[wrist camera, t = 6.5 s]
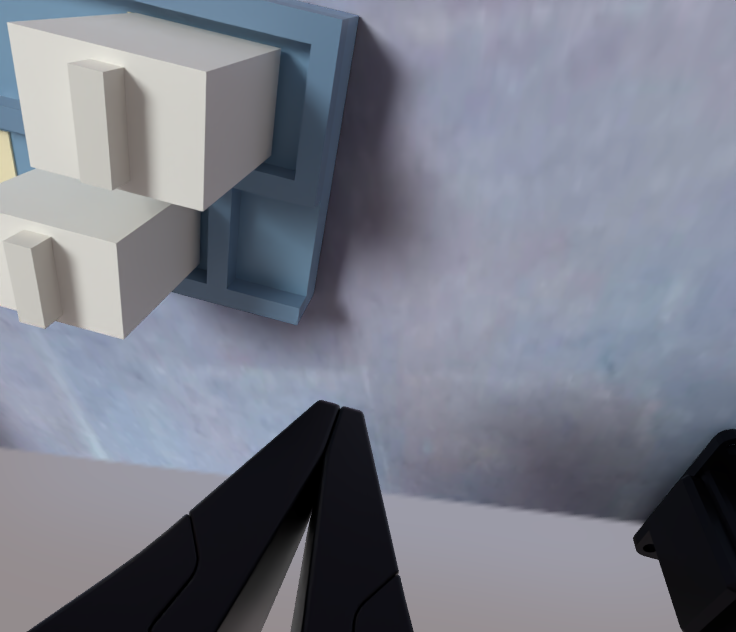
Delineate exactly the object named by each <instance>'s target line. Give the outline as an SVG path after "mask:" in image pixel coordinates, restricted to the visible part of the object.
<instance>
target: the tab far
mask: <svg viewBox="0 0 736 632" xmlns="http://www.w3.org/2000/svg"><path fill="white" fill-rule="evenodd" d="M200 219H201V211H199V210H195V209H191V208H187V207H183V206H180V205H176V204H172V203H168V202H164V201H160V200H157V199H153V198H149V197H145V196H141V195H137V194H133V193H130V192H126V191H122V190H118V189H114V190H112V191H111V190H107V189H104V188H100V187H96V186H92V185H88V184H84V183H81V182H80V179H76V178H72V177H68V176H64V175H60V174H56V173H53V172H49V171H45V170H41V169H37V168H36V169H33V170H31V171H28V172H26V173H23V174H21V175H19V176H16V177H14V178H11V179H9V180H6V181H4V182H2V183H0V306H2V307H6V308H9V309H13V310H17V312H18V317H19V322H22V323H25V324H29V325H33V326H37V327H40V328H44V329H46V328H47V327H48V326H49V325H51V324H52V323H53V322H55V321H57V322H61V323H65V324H68V325H72V326H76V327H80V328H83V329H87V330H91V331H94V332H98V333H102V334H105V335H109V336H113V337H116V338H120V339H125V338H126V337H127V336H128V335H129V334H130V333H131V332H132V331H133V330H134V329H135V328H136V327H137V326H138V325H139V324H140V323H141V322H142V321H143V320H144V319H145V318H146V317H147V316H148V315H149V314H150V313H151V312H152V311H153V310H154V309H155V308H156V307H157V306H158V305H159V304H160V303H161V302H162V301H163V300H164V299H165V298H166V297H167V296H168V295H169V294H170V293H171V292H172V291H173V290H174V289H175V288H176V287H177V286H178V285H179V284H180V283H181V282H182V281H183V280H184V279H185V278H186V277H187V276H188V275H189V274H190V273H191V272H192V271H193V270H194V269H195V268H196V267H197V266H198V265H199V264H200Z"/></svg>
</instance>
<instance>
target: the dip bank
mask: <svg viewBox="0 0 736 632" xmlns="http://www.w3.org/2000/svg"><path fill="white" fill-rule="evenodd" d="M124 13H139V14H144V15H148V16H152V17H156V18H160V19H164V20H168V21H172V22H176V23H180V24H184V25H188V26H192V27H196V28H200V29H204V30H209V31H213V32H217V33H221V34H225V35H229V36H233V37H237V38H241V39H245V40H249V41H253V42H257V43H261V44H265V45H269V46H274V47H278V48H281V55H280V66H279V77H278V87H277V98H276V108H275V119H274V130H273V140H272V151H271V156H270V157H269V158H268V159H266V160H265V161H264V162H263V163H261V164H260V165H259V166H258V167H257V168H255V169H254V170H253V171H252V172H251V173H249V174H248V175H247V176H246V177H245V178H243V179H242V180H241V181H240V182H238V183H237V184H236V185H235V186H234V187H232V188H231V189H230V190H229V191H228V192H226V193H225V194H224V195H223V196H221V197H220V198H219V199H218V200H217V201H215V202H214V203H213V204H212V205H211V206H209V207H208V208H207V209H206V210H204V211H201V219H200V264H199V265H198V266H197V267H196V268H195V269H194V270H193V271H192V272H191V273H190V274H189V275H188V276H187V277H186V278H185V279H184V280H183V281H182V282H181V283H180V284H179V285H178V286H177V287H176V288H175V289H174V290H173V291H172V292H174V293H178V294H181V295H185V296H189V297H193V298H196V299H200V300H204V301H208V302H211V303H215V304H219V305H223V306H226V307H230V308H234V309H238V310H241V311H245V312H249V313H253V314H256V315H260V316H264V317H268V318H272V319H275V320H279V321H283V322H287V323H290V324H294V325H297V324H298V323H299V321H300V319H301V317H302V315H303V313H304V311H305V309H306V307H307V305H308V304H309V302H310V300H311V298H312V296H313V294H314V289H315V283H316V276H317V270H318V264H319V258H320V252H321V246H322V240H323V234H324V228H325V221H326V215H327V209H328V203H329V197H330V191H331V185H332V179H333V173H334V166H335V160H336V154H337V148H338V142H339V136H340V130H341V124H342V118H343V111H344V105H345V99H346V93H347V87H348V81H349V75H350V69H351V63H352V56H353V50H354V44H355V38H356V32H357V26H358V20H359V16H358V15H354V14H350V13H346V12H342V11H338V10H334V9H329V8H325V7H321V6H317V5H313V4H309V3H305V2H301V1H296V0H0V183H2V182H4V181H6V180H9V179H11V178H14V177H16V176H19V175H21V174H23V173H26V172H28V171H31V170H33V169H36V168H33V167H31V166H30V160H29V154H28V148H27V142H26V136H25V130H24V124H23V118H22V111H21V105H20V99H19V93H18V87H17V81H16V75H15V69H14V63H13V57H12V51H11V45H10V38H9V32H8V26H7V22H15V21H28V20H42V19H56V18H69V17H83V16H96V15H110V14H124Z"/></svg>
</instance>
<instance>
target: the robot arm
mask: <svg viewBox="0 0 736 632" xmlns="http://www.w3.org/2000/svg"><path fill="white" fill-rule="evenodd" d="M732 444H735V445H733V446H730V445H732ZM311 512H312V513H311ZM310 515H311V517H310ZM309 518H310V522H309ZM308 522H309V527H308V532H307V537H306V543H305V549H304V555H303V561H302V567H301V573H300V579H299V585H298V591H297V597H296V603H295V609H294V615H293V620H292V626H291V632H414V631H413V628H412V624H411V620H410V616H409V612H408V608H407V604H406V600H405V596H404V592H403V587H402V583H401V578H400V576H399V575H398V572H399V570H398V566H397V561H396V557H395V553H394V548H393V543H392V539H391V535H390V530H389V526H388V521H387V517H386V512H385V508H384V503H383V499H382V494H381V490H380V485H379V481H378V476H377V472H376V467H375V463H374V459H373V454H372V450H371V445H370V441H369V436H368V432H367V427H366V423H365V418H364V415H363V412H362V411H360V410H356V409H353V408H349V407H345V406H343V407H341V409H340V406H339V405H338V404H334V403H331V402H327V401H323V400H319V401H317V402H316V403H315V404H313V405H312V406H311V407H310V408H309V409H308V410H306V411H305V412H304V413H303V414H302V415H301V416H300V417H298V418H297V419H296V420H295V421H294V422H293V423H291V424H290V425H289V426H288V427H287V428H286V429H284V430H283V431H282V432H281V433H280V434H279V435H277V436H276V437H275V438H274V439H273V440H272V441H271V442H269V443H268V444H267V445H266V446H265V447H264V448H262V449H261V450H260V451H259V452H258V453H257V454H255V455H254V456H253V457H252V458H251V459H250V460H248V461H247V462H246V463H245V464H244V465H243V466H241V467H240V468H239V469H238V470H237V471H236V472H235V473H233V474H232V475H231V476H230V477H229V478H228V479H226V480H225V481H224V482H223V483H222V484H221V485H219V486H218V487H217V488H216V489H215V490H214V491H213V492H211V493H210V494H209V495H208V496H207V497H206V498H205V499H204V500H202V501H201V502H200V503H199V504H197V505H196V506H195V507H194V508H193V509H192V510H191V511H190V512H189V515H187V514H186V515H184V516H183V517H182V518H181V519H180V520H179V521H178V522H176V523H175V524H174V525H173V526H172V527H170V528H169V529H168V530H167V531H166V532H164V533H163V534H162V535H161V536H160V537H158V538H157V539H156V540H155V541H153V542H152V543H151V544H150V545H148V546H147V547H146V548H145V549H144V550H142V551H141V552H140V553H138V554H137V555H136V556H135V557H133V558H131V559H130V560H129V561H127V562H126V563H125V564H123V565H122V566H120V567H119V568H118V569H116V570H115V571H114V572H112V573H111V574H110V575H108V576H107V577H105V578H104V579H102V580H101V581H99V582H98V583H97V584H95V585H94V586H92V587H91V588H90V589H88V590H87V591H85V592H84V593H82V594H81V595H79V596H78V597H76V598H75V599H74V600H72V601H71V602H69V603H68V604H66V605H65V606H64V607H62V608H60V609H59V610H58V611H56V612H55V613H54V614H52V615H50V616H49V617H48V618H46V619H45V620H43V621H42V622H40V623H39V624H37V625H36V626H34V627H33V628H32V629H30V630H29V631H27V632H261V630H262V628H263V626H264V623H265V621H266V619H267V617H268V614H269V612H270V610H271V607H272V605H273V603H274V601H275V598H276V596H277V594H278V591H279V589H280V587H281V585H282V582H283V580H284V578H285V575H286V573H287V571H288V568H289V566H290V564H291V562H292V559H293V557H294V555H295V552H296V550H297V548H298V545H299V543H300V541H301V539H302V536H303V534H304V532H305V529H306V527H307V524H308ZM633 540H634V544H635V548H636V551H637V552H638V553H639V554H641V555H643V556H646V557H650V558H654V559H658V560H659V562H660V566H661V568H662V572H663V575H664V578H665V581H666V584H667V587H668V591H669V594H670V597H671V600H672V603H673V606H674V609H675V612H676V616H677V618H678V622H679V625H680V628H681V629H682V631H683V632H736V430H735V429H730V430H724V431H722V432H720V433H718V434H717V435H716V436H715V437H714V438H713V439H712V440H711V441H710V443H709V444H708V445H707V446H706V448H705V449H704V450H703V451H702V453H701V454H700V455H699V456H698V458H697V459H696V460H695V461H694V462H693V464H692V465H691V466H690V467H689V469H688V470H687V471H686V472H685V474H684V475H683V476H682V477H681V479H680V480H679V481H678V482H677V483H676V485H675V486H674V487H673V488H672V490H671V491H670V492H669V493H668V495H667V496H666V497H665V498H664V499H663V501H662V502H661V503H660V504H659V506H658V507H657V508H656V509H655V511H654V512H653V513H652V514H651V516H650V517H649V518H648V519H647V520H646V522H645V523H644V524H643V525H642V527H641V528H640V529H639V530H638V532H637V533H636V534H635V535H634V537H633Z"/></svg>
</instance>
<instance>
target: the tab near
mask: <svg viewBox="0 0 736 632" xmlns="http://www.w3.org/2000/svg"><path fill="white" fill-rule="evenodd" d="M7 26H8V32H9V38H10V45H11V51H12V57H13V63H14V69H15V75H16V81H17V87H18V93H19V99H20V105H21V111H22V118H23V124H24V130H25V136H26V142H27V148H28V154H29V160H30V166H31V167H33V168H37V169H41V170H45V171H49V172H53V173H56V174H60V175H64V176H68V177H72V178H76V179H80V182H81V183H84V184H88V185H92V186H96V187H100V188H104V189H107V190H111V191H112V190H114V189H118V190H122V191H126V192H130V193H133V194H137V195H141V196H145V197H149V198H153V199H157V200H160V201H164V202H168V203H172V204H176V205H180V206H183V207H187V208H191V209H195V210H199V211H204V210H206V209H207V208H208V207H209V206H211V205H212V204H213V203H214V202H215V201H217V200H218V199H219V198H220V197H221V196H223V195H224V194H225V193H226V192H228V191H229V190H230V189H231V188H232V187H234V186H235V185H236V184H237V183H238V182H240V181H241V180H242V179H243V178H245V177H246V176H247V175H248V174H249V173H251V172H252V171H253V170H254V169H255V168H257V167H258V166H259V165H260V164H261V163H263V162H264V161H265V160H266V159H268V158H269V157H270V156H271V151H272V140H273V130H274V119H275V108H276V98H277V87H278V77H279V66H280V55H281V48H278V47H274V46H269V45H265V44H261V43H257V42H253V41H249V40H245V39H241V38H237V37H233V36H229V35H225V34H221V33H217V32H213V31H209V30H204V29H200V28H196V27H192V26H188V25H184V24H180V23H176V22H172V21H168V20H164V19H160V18H156V17H152V16H148V15H144V14H139V13H124V14H110V15H96V16H83V17H69V18H56V19H42V20H28V21H15V22H7Z"/></svg>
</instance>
